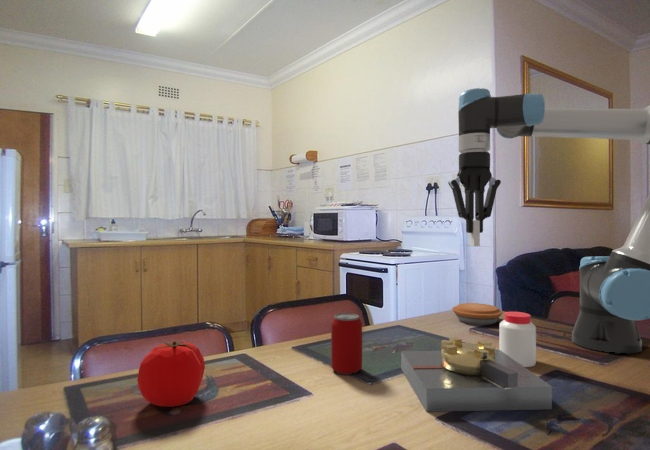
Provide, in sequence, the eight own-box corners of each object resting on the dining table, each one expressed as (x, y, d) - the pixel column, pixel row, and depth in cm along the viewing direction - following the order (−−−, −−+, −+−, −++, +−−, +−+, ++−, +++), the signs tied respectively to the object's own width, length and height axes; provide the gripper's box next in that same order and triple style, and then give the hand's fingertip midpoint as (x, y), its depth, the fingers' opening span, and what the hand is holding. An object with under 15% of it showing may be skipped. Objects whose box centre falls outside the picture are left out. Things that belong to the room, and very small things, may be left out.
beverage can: (366, 367, 93) (366, 314, 93) (355, 378, 87) (355, 320, 86) (338, 363, 96) (338, 311, 95) (326, 373, 89) (326, 317, 89)
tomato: (165, 423, 68) (164, 355, 68) (123, 406, 74) (123, 344, 74) (219, 396, 78) (219, 337, 78) (179, 383, 84) (178, 328, 84)
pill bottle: (540, 368, 92) (540, 318, 92) (503, 366, 94) (503, 317, 93) (530, 356, 100) (530, 311, 99) (496, 354, 101) (496, 309, 101)
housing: (499, 367, 92) (499, 349, 92) (554, 411, 72) (554, 387, 71) (401, 369, 92) (401, 350, 91) (427, 413, 71) (427, 389, 71)
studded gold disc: (431, 359, 85) (431, 339, 85) (472, 354, 88) (472, 334, 88) (488, 393, 69) (488, 367, 69) (536, 385, 72) (536, 361, 72)
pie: (455, 326, 128) (455, 310, 128) (449, 314, 144) (449, 300, 144) (508, 328, 126) (508, 311, 126) (496, 316, 141) (496, 301, 141)
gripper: (454, 150, 101) (454, 247, 101) (506, 150, 102) (506, 246, 102) (443, 155, 109) (444, 245, 109) (492, 155, 109) (492, 244, 110)
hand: (474, 245), depth 106 cm, fingers closed
